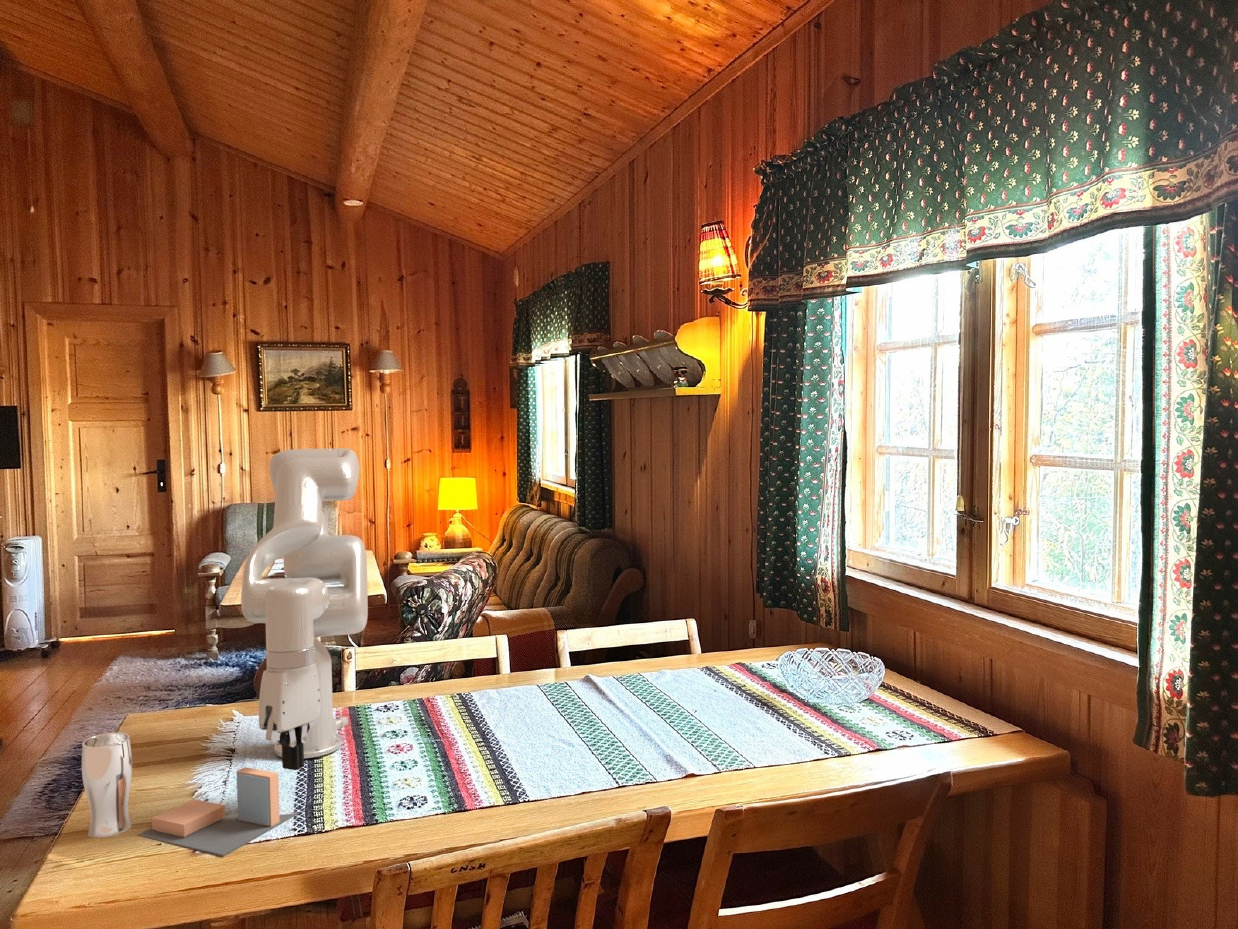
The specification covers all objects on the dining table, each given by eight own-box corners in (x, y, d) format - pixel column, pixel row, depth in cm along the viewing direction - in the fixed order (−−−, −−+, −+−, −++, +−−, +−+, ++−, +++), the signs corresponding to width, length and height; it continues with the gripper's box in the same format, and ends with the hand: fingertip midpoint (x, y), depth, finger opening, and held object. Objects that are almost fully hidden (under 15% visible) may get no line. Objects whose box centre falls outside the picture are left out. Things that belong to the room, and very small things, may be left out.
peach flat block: (246, 815, 151) (245, 767, 150) (279, 822, 148) (278, 773, 148) (236, 820, 149) (235, 771, 148) (269, 827, 146) (268, 777, 146)
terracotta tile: (193, 799, 153) (151, 818, 145) (225, 805, 150) (184, 825, 142) (193, 811, 153) (152, 831, 145) (225, 818, 150) (184, 838, 143)
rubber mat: (228, 796, 160) (227, 792, 160) (309, 812, 153) (309, 808, 153) (137, 838, 144) (137, 835, 144) (223, 858, 137) (223, 854, 137)
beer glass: (79, 845, 142) (74, 750, 141) (92, 825, 149) (87, 734, 148) (129, 839, 144) (125, 745, 143) (139, 820, 151) (135, 730, 150)
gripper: (304, 648, 163) (307, 752, 163) (239, 666, 149) (241, 780, 150) (338, 651, 160) (341, 756, 160) (274, 670, 146) (277, 785, 147)
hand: (293, 767), depth 155 cm, fingers closed
